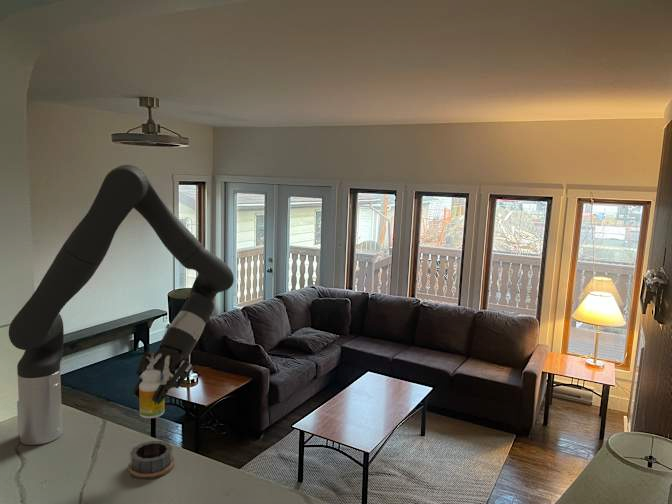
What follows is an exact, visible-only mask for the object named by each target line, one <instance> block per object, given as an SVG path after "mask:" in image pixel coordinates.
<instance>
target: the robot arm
mask: <svg viewBox="0 0 672 504" xmlns="http://www.w3.org/2000/svg"><path fill="white" fill-rule="evenodd" d="M133 209H134V210H135V211H137V212H138V213H139V215H141V216H142V217H143V218H144V220H145V221H146V222H147V223H148V224H149V225H150V227H151V229H152V230H153V231H154V232H155V234H156V236H157V237H158V238H159V239H160V241H161V243H162V244H163V245H164V247H165V248H166V249H167V250H168V252H169V253H170V254H171V255H172V256H173V257H174V259H176V260H177V261H178V262H179V264H181V265H182V266H183V267H184V268H186V269H187V270H194V271H195V272H196V273H198V275H197V276H196V278H195V279H194V282H193V283H192V287H191V290H190V292H189V295H188V298H187V299H186V301H184V302H185V303H184V304H183V306H181V307H182V308H181V309H180V310H179V312H178V313H177V314H176V316H175V318H173V320H172V322H171V324H169V325H170V326H169V327H168V328H167V330H166V331H165V333H164V335H163V337H162V339H161V340H160V341H159V348H158V349H157V350H156V351H155V352H153V353H151V352H149V351H147V350H146V351H145V352H143V355H142V356H141V359H140V361H139V364H138V366H137V368H136V370H135V375H137V376H138V377H139V380H138V381H137V383H136V384H135V386H134V388H133V390H132V395H133V396H134V397H136V398H138V399H139V385H140V383H141V382H142V381H143V380H142V373H143V372H145V371H148V370H158V371H160V372H161V374H162V376H163V377H162V385H160V386H159V388H158V389H157V391H156V393H155V395H154V396H153V398H152V400H153V401H154V402H155V403H157V404H160V402H162V401H163V399H164V397H166V396H167V394H168V392H169V391H170V390H171V389H172V388H175V389H179V388H180V386H182V384H183V382H184V381H185V380H186V378H188V376H189V375H190V373H191V372H192V370H193V369H194V366H193V365H192V364H191V363H190V362H189V361H188V360H186V359H188V358H189V357H190V355H191V354H192V352H193V349H195V346H196V345H197V343H198V341H199V339H200V338H201V335H202V333H203V332H204V329H205V326H206V324H207V323H208V322H209V320H210V318H211V316H212V314H213V312H214V309H215V303H214V299H215V297H216V295H218V294H219V293H223V292H226V291H228V290H229V289H231V288H232V286H233V285H234V281H235V279H234V278H235V277H234V273H233V271H232V269H231V268H230V267H229V265H228V264H227V263H226V262H224V261H223V260H222V259H221V258H220V257H218V256H217V255H215V253H212V252H211V251H209V250H208V249H207V248H205V247H204V245H203V244H202V243H201V242H200V241H199V240H198V239H197V237H196V236H195V235H194V234H193V233H192V232H191V231H190V230H189V229H188V228H187V227H186V226H185V225H184V223H182V222H181V221H180V219H178V217H177V216H176V215H175V214H174V213H173V212H172V210H171V209H170V208H169V207H168V205H167V204H166V203H165V202H164V201H163V199H162V198H161V197H160V195H159V193H158V192H157V191H156V189H155V188H154V185H152V183H151V181H150V180H149V178H148V177H147V175H146V173H145V172H144V171H143V170H142V169H141V168H139V167H138V166H135V165H133V164H123V165H119V166H117V167H115V168H113V169H111V170H110V171H109V172H108V173H107V174H106V175H105V177H104V179H103V180H102V183H101V185H100V188H99V190H98V192H97V195H96V196H95V198H94V200H93V202H92V204H91V206H90V208H89V210H88V212H87V213H86V214H85V216H84V217H83V218H82V219H81V221H80V222H78V224H77V225H76V226H75V227H74V229H72V232H70V235H69V236H68V238H67V239H66V240H65V242H64V243H63V245H62V246H61V248H60V249H59V251H58V253H57V254H56V256H55V258H54V259H53V261H52V263H51V264H50V266H49V267H48V269H47V271H46V273H45V274H44V276H43V278H42V279H41V280H40V283H39V285H38V287H37V288H36V289H35V291H33V293H32V295H31V296H30V298H29V299H28V300H27V302H25V304H24V305H23V306H22V307H21V309H20V310H19V311H17V314H16V315H15V316H14V318H13V319H12V320H11V322H10V324H9V328H8V338H9V341H10V343H11V344H12V346H14V347H15V348H17V349H19V350H22V351H24V352H23V355H22V356H21V358H20V360H19V361H18V363H17V366H16V369H17V390H18V391H17V392H18V393H17V394H18V400H17V402H16V404H17V405H16V407H17V411H16V412H17V428H18V429H17V430H18V431H17V432H18V435H17V436H18V437H19V441H20V443H22V444H23V445H28V446H36V445H38V446H39V445H43V444H48V443H50V442H52V441H55V440H57V439H58V438H60V436H61V435H62V433H63V425H62V423H63V421H62V420H63V419H62V412H63V411H62V386H61V385H62V383H61V361H62V359H63V355H64V335H65V334H64V333H65V332H64V322H63V318H62V316H61V311H62V309H64V307H65V305H67V303H69V302H70V300H71V299H73V297H74V296H75V295H76V294H78V293H79V292H80V291H81V290H82V289H83V288H84V286H85V285H87V283H89V281H90V279H92V277H93V276H94V274H95V273H96V271H97V270H98V269H99V267H100V266H101V264H102V262H103V260H104V258H105V257H106V255H107V253H108V251H109V249H110V247H111V244H112V242H113V239H114V237H115V234H116V233H117V230H118V229H119V227H120V226H121V225H122V222H123V221H124V220H125V219H126V218H127V216H128V215H129V214H130V213H131V212H132V210H133Z"/></svg>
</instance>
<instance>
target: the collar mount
mask: <svg viewBox="0 0 672 504" xmlns="http://www.w3.org/2000/svg"><path fill="white" fill-rule="evenodd" d="M127 467H128V468H127V470H128V474H129V475H130V476H131V477H132V478H134V479H137V480H153V479H158V478H161V477H163V476H166V475H167V474H169V473H170V472H171V471H172V470H173V469H174V467H175V458H174V456H173V447H172V445H171V444H170V443H169V442H166V441H163V440H151V441H146V442H143V443H140V444H138V445H136V446H134V447H133V448H132V449H131V450H130V452H129V463H128V466H127Z"/></svg>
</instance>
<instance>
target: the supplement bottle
mask: <svg viewBox="0 0 672 504" xmlns="http://www.w3.org/2000/svg"><path fill="white" fill-rule="evenodd" d="M142 380H143V381H142V382H141V383H140V385H139V398H138V399H139V416H140V417H142V418H144V419H156V418H159V417H161V416H163V414H164V413H165V411H166V410H165V408H166V407H165V405H166V403H165V397H166V396H165V397H164V399H163V401H162V402H160V404H157V403H155V402H154V401H153V400H152V398H153V396H154V395H155V393H156V391H157V389H158V388H159V386H160V385H162V381H163V379H162V373H161V372H160V371H158V370H155V369H153V370H148V371H145V372H143V373H142Z"/></svg>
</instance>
